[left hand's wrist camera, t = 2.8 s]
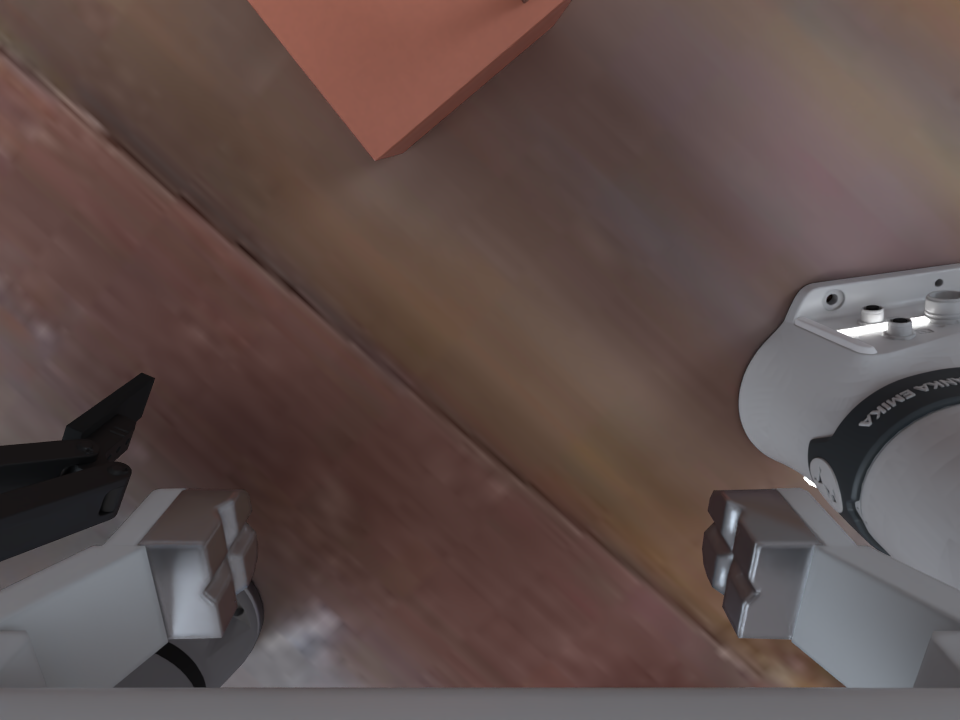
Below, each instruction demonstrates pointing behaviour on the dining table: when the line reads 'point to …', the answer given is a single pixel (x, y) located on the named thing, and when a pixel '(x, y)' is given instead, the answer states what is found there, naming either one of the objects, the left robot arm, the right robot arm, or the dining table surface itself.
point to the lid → (396, 54)
